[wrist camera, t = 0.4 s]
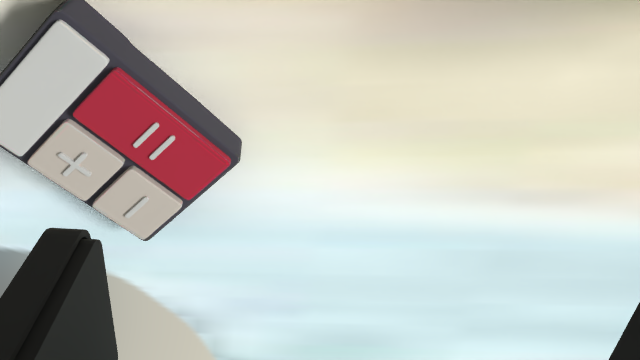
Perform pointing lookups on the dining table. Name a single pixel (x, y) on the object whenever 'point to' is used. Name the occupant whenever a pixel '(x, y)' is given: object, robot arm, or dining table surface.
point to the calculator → (110, 122)
